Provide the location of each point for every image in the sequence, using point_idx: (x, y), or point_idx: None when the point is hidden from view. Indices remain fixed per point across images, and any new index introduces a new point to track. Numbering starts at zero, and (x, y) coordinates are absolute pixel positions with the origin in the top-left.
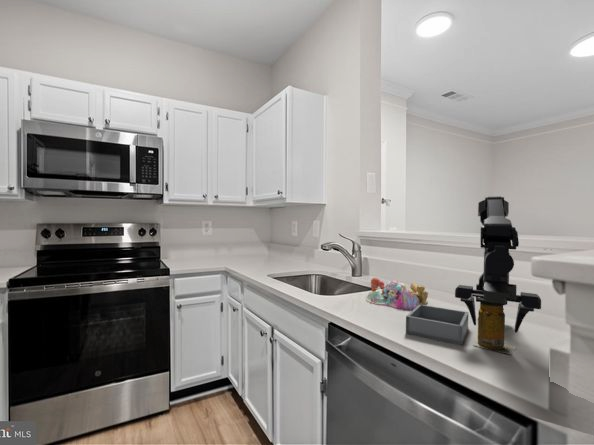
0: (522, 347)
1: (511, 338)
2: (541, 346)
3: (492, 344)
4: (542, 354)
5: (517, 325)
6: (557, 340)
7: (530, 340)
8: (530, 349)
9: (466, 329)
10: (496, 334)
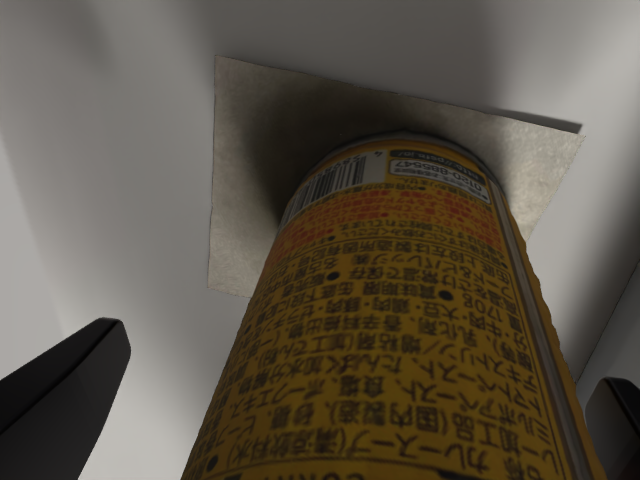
0: (172, 308)
1: None
2: None
3: (385, 154)
4: (39, 238)
5: (28, 386)
6: None
7: (155, 432)
8: (123, 295)
9: None
10: (332, 226)
